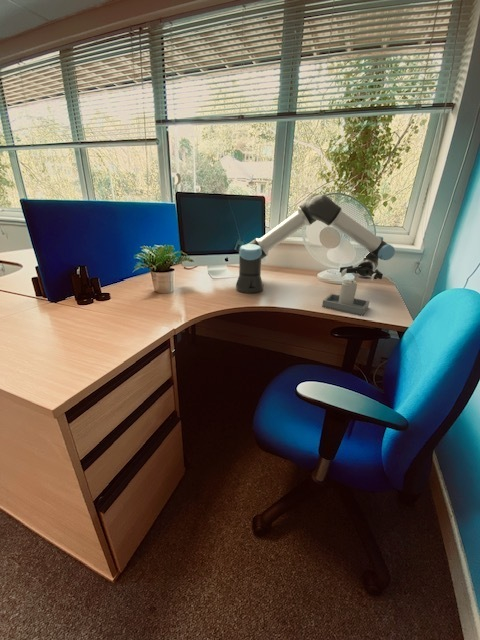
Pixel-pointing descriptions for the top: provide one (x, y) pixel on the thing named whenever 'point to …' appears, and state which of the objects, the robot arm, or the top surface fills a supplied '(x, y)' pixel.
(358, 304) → the tray
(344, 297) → the beverage can
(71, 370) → the top surface
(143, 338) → the top surface
